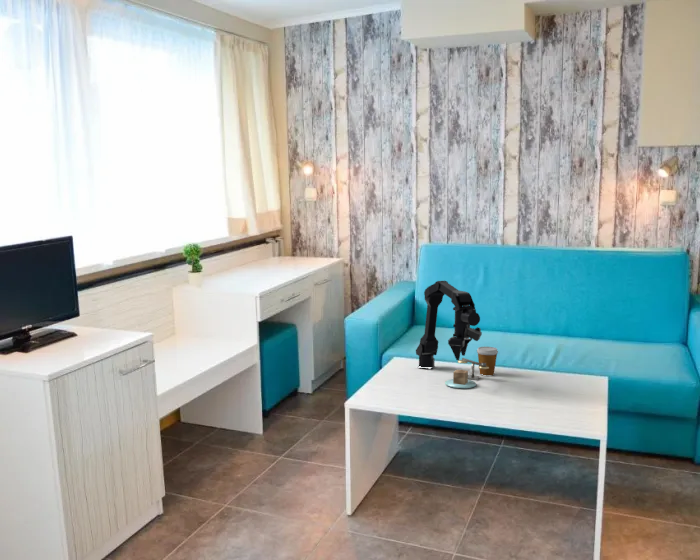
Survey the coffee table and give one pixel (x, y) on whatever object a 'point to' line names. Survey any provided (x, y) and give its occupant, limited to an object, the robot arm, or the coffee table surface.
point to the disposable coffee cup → (487, 359)
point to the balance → (472, 376)
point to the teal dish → (467, 385)
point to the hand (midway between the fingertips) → (460, 357)
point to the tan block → (460, 377)
